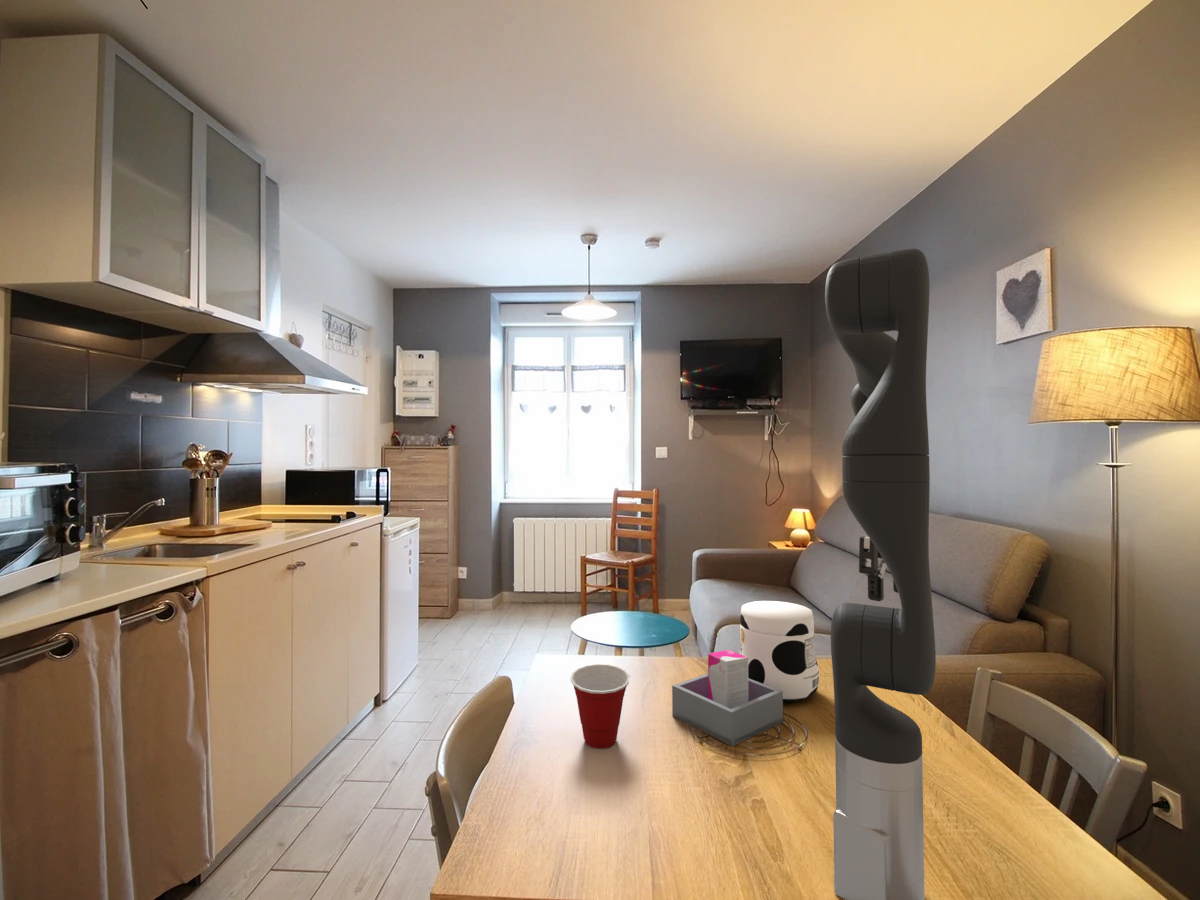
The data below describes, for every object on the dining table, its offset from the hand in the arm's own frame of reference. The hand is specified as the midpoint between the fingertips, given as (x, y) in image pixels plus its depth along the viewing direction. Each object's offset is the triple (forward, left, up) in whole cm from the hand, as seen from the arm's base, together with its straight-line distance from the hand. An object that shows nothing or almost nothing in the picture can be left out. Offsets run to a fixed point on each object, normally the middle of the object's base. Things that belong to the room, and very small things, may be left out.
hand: (888, 596), depth 92 cm
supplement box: (-8, +28, -27) cm, 40 cm away
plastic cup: (-33, +36, -28) cm, 56 cm away
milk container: (+11, +30, -28) cm, 43 cm away
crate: (-8, +28, -28) cm, 40 cm away
